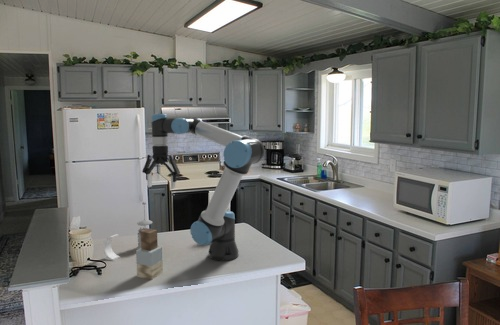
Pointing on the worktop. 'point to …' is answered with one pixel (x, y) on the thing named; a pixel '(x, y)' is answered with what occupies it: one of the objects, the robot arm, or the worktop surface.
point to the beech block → (150, 270)
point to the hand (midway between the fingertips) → (161, 187)
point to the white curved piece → (109, 249)
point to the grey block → (149, 256)
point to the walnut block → (149, 239)
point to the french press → (143, 223)
